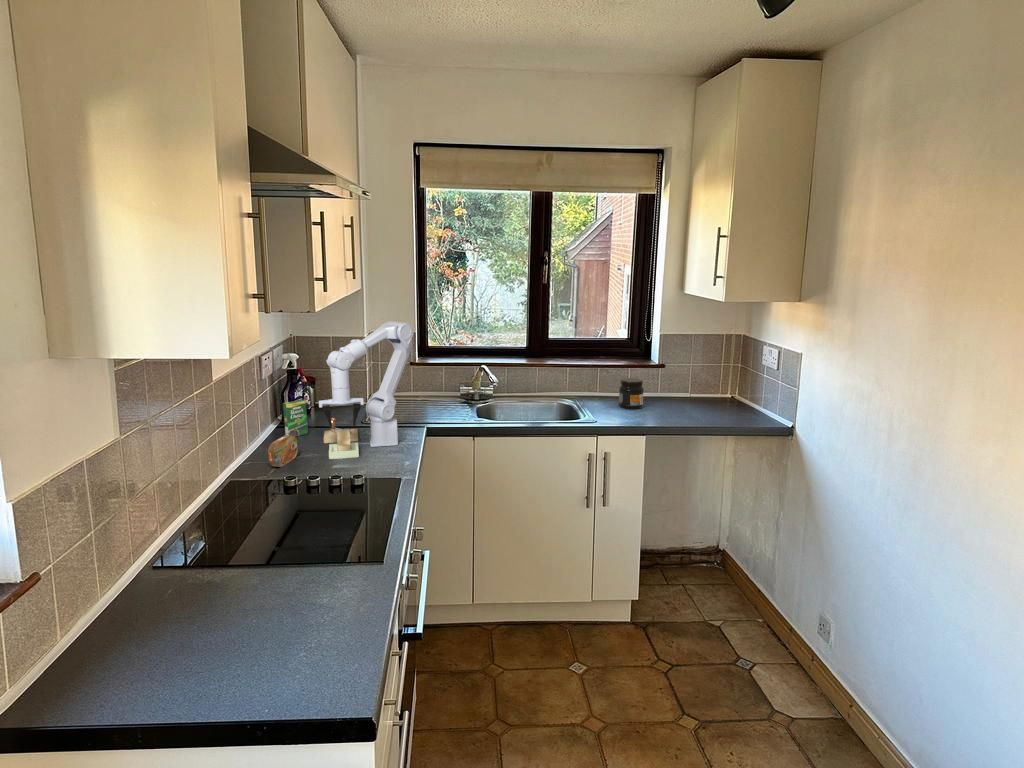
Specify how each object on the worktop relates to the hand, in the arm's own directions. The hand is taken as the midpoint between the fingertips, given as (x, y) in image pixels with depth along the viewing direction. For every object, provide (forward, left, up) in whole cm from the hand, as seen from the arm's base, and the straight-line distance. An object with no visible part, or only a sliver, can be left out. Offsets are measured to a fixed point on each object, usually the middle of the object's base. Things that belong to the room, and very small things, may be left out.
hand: (342, 426), depth 230 cm
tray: (0, +1, -9) cm, 9 cm away
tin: (+19, +6, -10) cm, 22 cm away
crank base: (+1, -19, -9) cm, 21 cm away
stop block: (0, +1, -9) cm, 9 cm away
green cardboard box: (+17, -25, -10) cm, 32 cm away
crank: (+2, -21, -8) cm, 22 cm away
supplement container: (-121, -38, -10) cm, 127 cm away
